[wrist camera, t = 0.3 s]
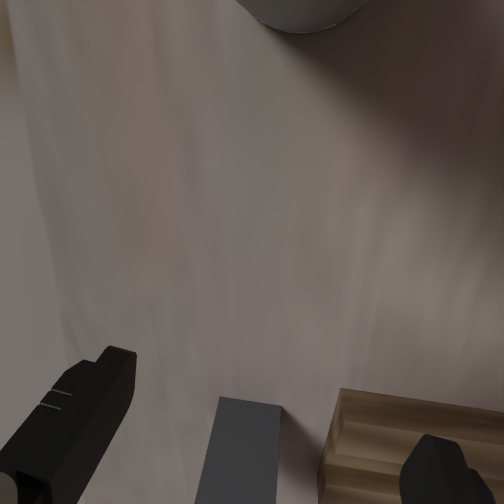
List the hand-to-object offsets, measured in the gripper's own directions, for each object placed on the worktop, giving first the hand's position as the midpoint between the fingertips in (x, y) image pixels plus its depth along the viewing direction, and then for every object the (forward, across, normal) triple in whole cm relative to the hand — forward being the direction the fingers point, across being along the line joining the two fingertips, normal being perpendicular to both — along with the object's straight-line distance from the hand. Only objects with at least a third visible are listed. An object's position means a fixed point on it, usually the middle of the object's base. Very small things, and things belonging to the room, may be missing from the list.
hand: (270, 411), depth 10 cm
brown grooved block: (+19, -20, +22) cm, 35 cm away
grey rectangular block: (+18, -1, +23) cm, 29 cm away
